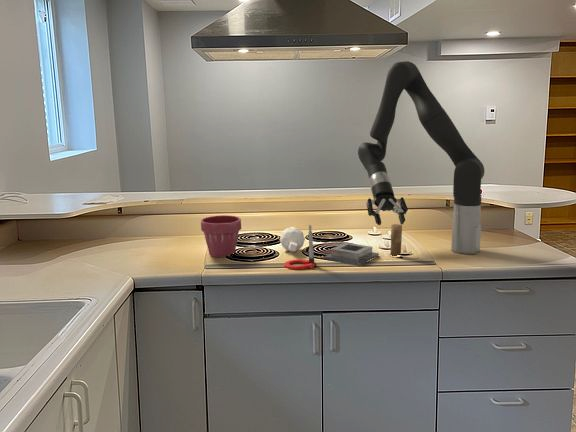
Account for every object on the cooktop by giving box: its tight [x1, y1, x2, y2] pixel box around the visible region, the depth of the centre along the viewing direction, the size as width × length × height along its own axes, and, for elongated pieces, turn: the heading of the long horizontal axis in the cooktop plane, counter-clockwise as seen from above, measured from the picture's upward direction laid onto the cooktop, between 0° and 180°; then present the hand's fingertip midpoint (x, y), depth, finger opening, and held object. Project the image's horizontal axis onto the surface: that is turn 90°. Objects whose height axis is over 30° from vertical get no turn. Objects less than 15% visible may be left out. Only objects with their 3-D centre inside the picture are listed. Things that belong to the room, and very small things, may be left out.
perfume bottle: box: [279, 226, 306, 253], centre depth 204 cm, size 9×9×12 cm
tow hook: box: [283, 224, 315, 270], centre depth 186 cm, size 9×14×10 cm
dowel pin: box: [389, 223, 403, 256], centre depth 197 cm, size 4×4×11 cm
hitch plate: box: [323, 242, 380, 266], centre depth 196 cm, size 14×14×4 cm
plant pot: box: [200, 214, 242, 258], centre depth 201 cm, size 14×14×13 cm
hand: (391, 223), depth 201 cm, fingers open, 8 cm apart
